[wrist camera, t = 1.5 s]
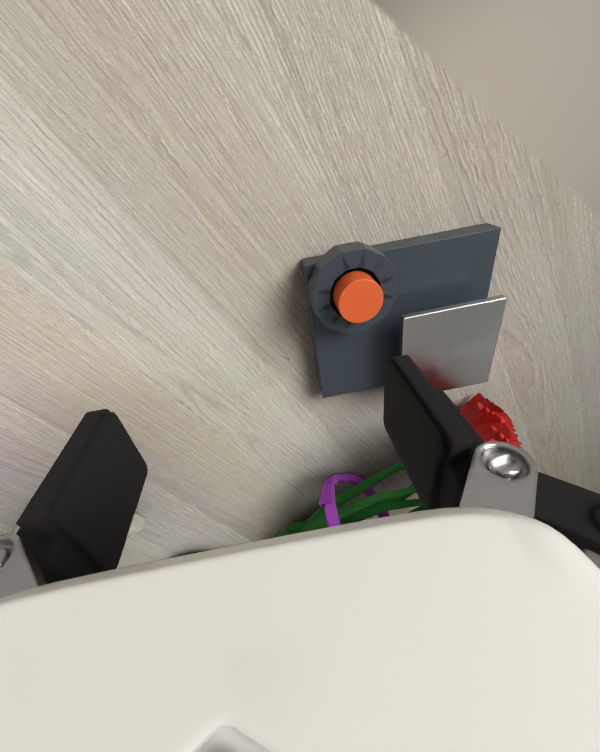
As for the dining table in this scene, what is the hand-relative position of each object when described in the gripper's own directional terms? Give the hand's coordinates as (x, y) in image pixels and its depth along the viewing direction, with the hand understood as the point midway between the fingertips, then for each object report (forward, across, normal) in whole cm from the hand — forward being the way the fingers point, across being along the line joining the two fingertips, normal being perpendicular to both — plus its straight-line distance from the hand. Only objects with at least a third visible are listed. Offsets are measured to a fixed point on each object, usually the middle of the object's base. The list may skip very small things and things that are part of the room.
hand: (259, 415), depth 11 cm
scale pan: (+12, -14, +7) cm, 20 cm away
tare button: (+12, -7, +1) cm, 14 cm away
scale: (+16, -11, +5) cm, 20 cm away
